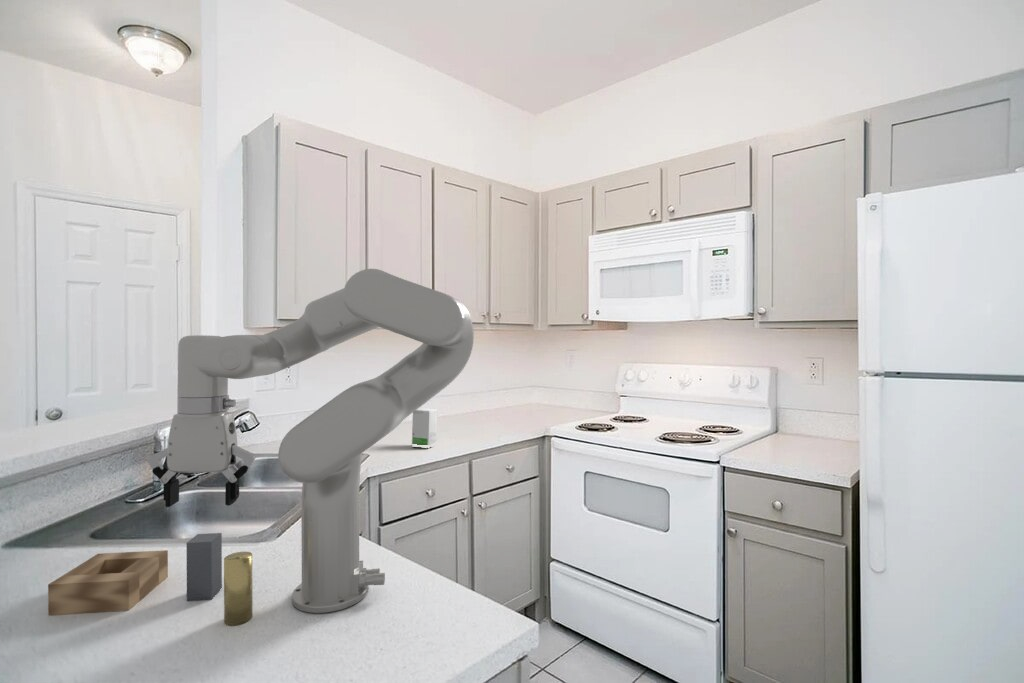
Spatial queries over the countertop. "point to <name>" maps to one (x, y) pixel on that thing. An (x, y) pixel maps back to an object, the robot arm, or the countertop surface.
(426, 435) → the skincare box
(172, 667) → the countertop surface
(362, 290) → the robot arm
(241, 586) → the round bit
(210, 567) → the square bit
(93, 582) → the bore block
